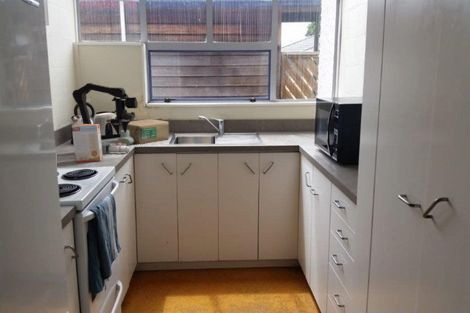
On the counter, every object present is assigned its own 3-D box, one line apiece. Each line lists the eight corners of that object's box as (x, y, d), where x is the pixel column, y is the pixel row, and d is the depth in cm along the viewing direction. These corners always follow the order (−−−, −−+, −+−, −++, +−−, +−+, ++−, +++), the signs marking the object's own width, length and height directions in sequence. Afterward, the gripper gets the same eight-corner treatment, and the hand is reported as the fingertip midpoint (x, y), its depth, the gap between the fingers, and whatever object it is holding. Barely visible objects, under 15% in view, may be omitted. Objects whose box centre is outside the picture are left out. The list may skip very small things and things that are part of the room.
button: (116, 149, 270) (115, 143, 270) (118, 148, 273) (117, 142, 273) (120, 149, 270) (119, 143, 269) (122, 148, 273) (121, 142, 272)
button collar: (111, 150, 269) (111, 145, 268) (116, 148, 276) (116, 143, 275) (122, 150, 268) (121, 145, 267) (126, 148, 274) (126, 143, 274)
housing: (95, 154, 256) (95, 145, 255) (102, 151, 264) (101, 143, 263) (105, 154, 255) (104, 145, 254) (110, 151, 263) (110, 143, 262)
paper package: (139, 145, 286) (138, 124, 283) (119, 141, 303) (118, 122, 300) (171, 139, 305) (170, 120, 302) (150, 136, 322) (149, 118, 319)
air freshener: (135, 143, 290) (134, 129, 288) (132, 145, 282) (131, 131, 280) (119, 144, 291) (118, 130, 288) (116, 146, 282) (115, 131, 280)
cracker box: (103, 159, 242) (99, 123, 237) (100, 161, 236) (96, 124, 231) (78, 160, 241) (75, 124, 237) (75, 162, 235) (71, 125, 231)
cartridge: (108, 153, 257) (108, 146, 256) (111, 151, 261) (111, 144, 260) (127, 153, 255) (126, 146, 254) (129, 151, 259) (129, 144, 258)
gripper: (125, 110, 246) (127, 136, 249) (138, 107, 264) (140, 131, 267) (108, 109, 248) (110, 135, 251) (122, 107, 266) (124, 131, 269)
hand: (122, 133), depth 260 cm, fingers open, 9 cm apart
